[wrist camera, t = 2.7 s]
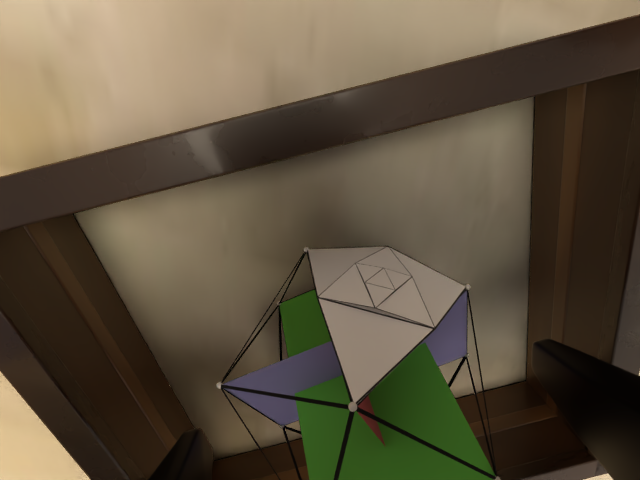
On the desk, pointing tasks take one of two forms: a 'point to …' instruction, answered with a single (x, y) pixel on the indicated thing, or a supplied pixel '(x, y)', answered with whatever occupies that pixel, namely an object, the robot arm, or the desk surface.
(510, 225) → the desk surface
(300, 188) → the desk surface
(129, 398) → the square wooden frame
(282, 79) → the desk surface
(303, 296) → the geometric puzzle
